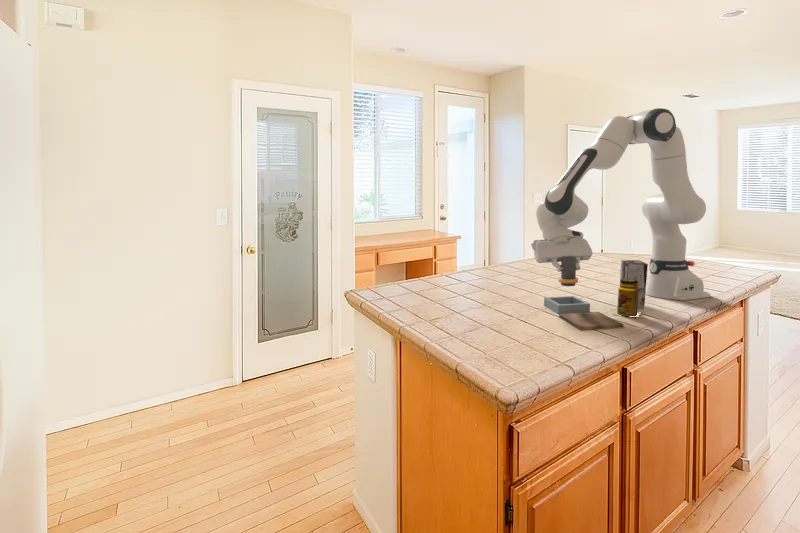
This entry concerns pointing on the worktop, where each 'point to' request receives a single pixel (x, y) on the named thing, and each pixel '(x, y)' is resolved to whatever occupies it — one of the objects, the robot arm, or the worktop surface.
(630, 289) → the condiment
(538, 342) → the worktop surface
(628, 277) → the coffee box
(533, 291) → the worktop surface
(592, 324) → the walnut board
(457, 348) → the worktop surface
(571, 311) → the socket
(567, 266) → the plug
